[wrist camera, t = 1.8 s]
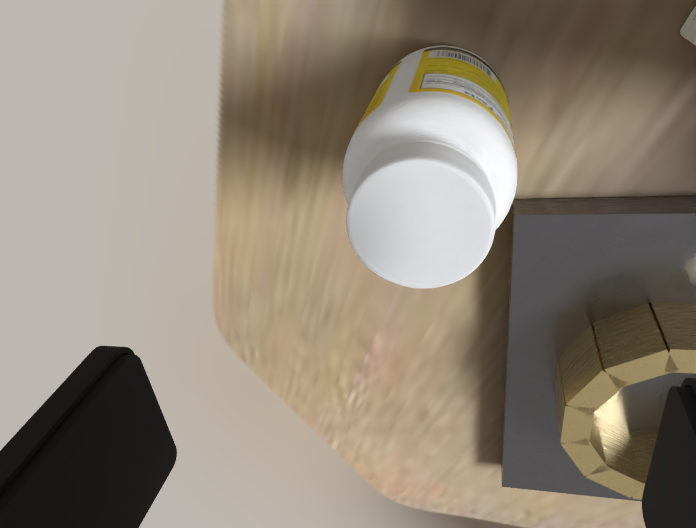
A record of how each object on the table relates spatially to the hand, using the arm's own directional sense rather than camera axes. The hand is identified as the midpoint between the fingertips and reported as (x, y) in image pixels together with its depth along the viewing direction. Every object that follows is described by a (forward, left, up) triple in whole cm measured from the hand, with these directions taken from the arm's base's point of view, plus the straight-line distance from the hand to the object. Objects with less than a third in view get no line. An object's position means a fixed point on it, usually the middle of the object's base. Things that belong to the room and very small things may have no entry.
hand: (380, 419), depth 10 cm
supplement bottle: (-1, 0, -16) cm, 16 cm away
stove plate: (+12, +10, -16) cm, 22 cm away
